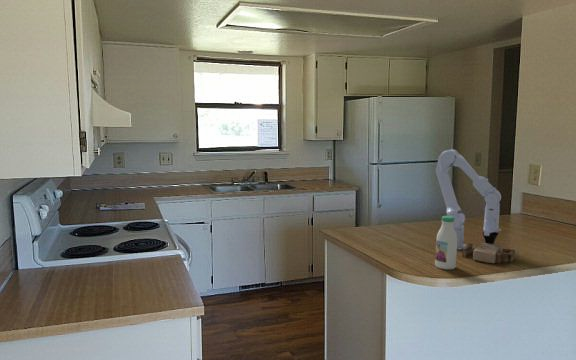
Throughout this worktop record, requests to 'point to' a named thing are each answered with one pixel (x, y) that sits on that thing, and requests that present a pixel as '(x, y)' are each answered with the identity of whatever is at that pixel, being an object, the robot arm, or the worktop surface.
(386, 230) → the worktop surface
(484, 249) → the brick
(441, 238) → the milk bottle
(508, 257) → the tunnel
